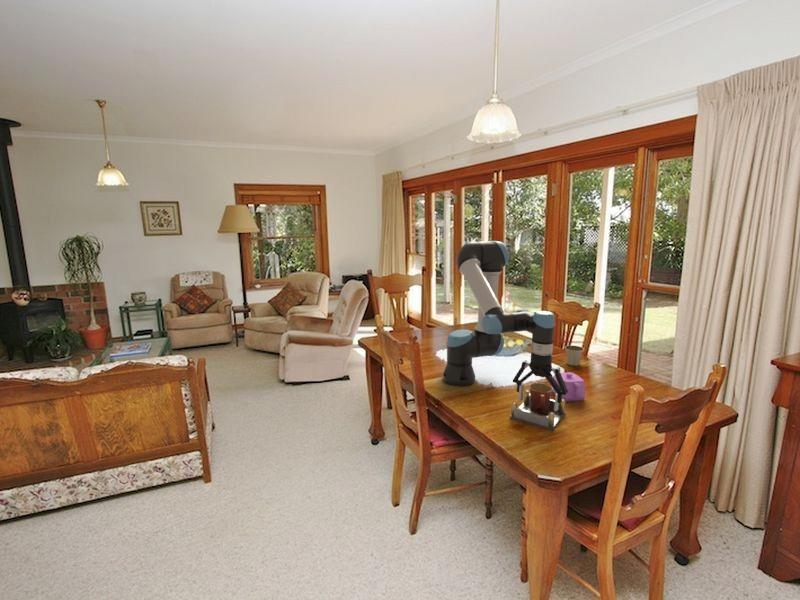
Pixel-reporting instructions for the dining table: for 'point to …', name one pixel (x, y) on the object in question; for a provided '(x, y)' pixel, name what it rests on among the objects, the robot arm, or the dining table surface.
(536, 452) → the dining table surface
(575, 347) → the flower pot
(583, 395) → the teapot
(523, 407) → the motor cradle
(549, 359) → the robot arm
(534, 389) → the mug
